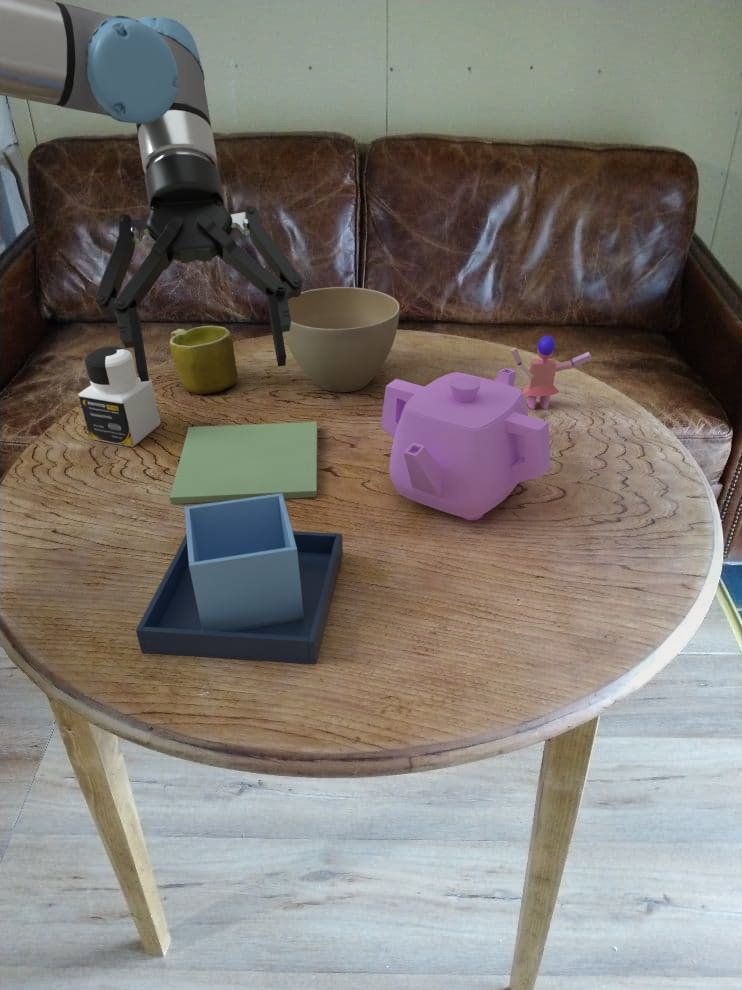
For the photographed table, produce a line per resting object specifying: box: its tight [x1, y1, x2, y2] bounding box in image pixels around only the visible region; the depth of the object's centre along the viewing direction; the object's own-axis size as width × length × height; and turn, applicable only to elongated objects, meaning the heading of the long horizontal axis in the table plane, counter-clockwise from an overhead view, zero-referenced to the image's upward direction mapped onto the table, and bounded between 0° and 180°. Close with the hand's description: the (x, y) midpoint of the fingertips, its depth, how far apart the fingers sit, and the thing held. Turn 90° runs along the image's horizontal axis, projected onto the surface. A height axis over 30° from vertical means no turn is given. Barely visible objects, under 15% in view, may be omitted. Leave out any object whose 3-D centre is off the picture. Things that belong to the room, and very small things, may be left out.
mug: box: [168, 325, 239, 395], centre depth 124 cm, size 12×10×10 cm
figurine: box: [509, 335, 592, 410], centre depth 116 cm, size 3×12×11 cm, turn 100°
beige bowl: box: [282, 286, 401, 393], centre depth 122 cm, size 18×18×12 cm
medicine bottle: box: [78, 346, 161, 448], centre depth 109 cm, size 7×7×12 cm
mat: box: [169, 421, 318, 505], centre depth 106 cm, size 18×18×1 cm
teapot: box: [380, 367, 551, 521], centre depth 96 cm, size 19×18×15 cm
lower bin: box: [135, 530, 344, 665], centre depth 83 cm, size 17×17×3 cm
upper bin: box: [184, 493, 304, 632], centre depth 81 cm, size 10×10×9 cm
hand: (213, 369), depth 79 cm, fingers open, 13 cm apart
